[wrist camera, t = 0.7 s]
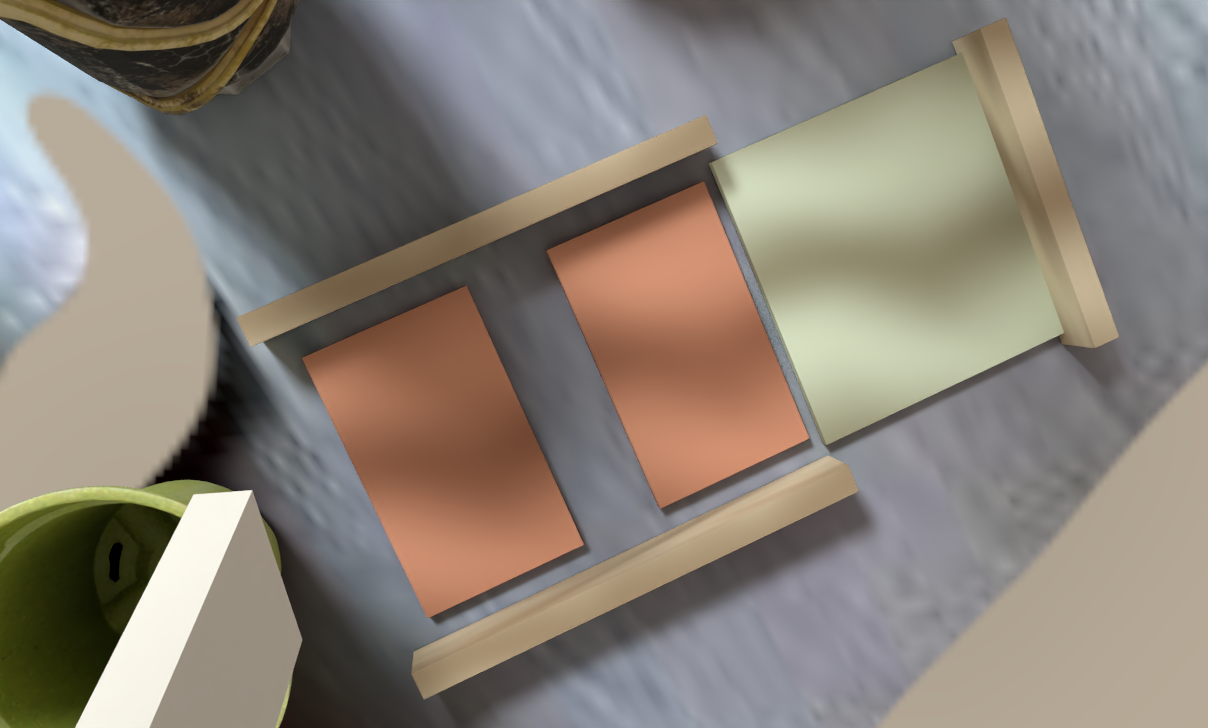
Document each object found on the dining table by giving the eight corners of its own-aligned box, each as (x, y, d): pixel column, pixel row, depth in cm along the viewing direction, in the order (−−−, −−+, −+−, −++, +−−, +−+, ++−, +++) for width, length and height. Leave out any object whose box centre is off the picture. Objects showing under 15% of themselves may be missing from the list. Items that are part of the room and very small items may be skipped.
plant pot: (321, 706, 35) (278, 845, 27) (33, 697, 34) (-109, 841, 25) (342, 443, 35) (304, 500, 26) (48, 422, 33) (-92, 475, 25)
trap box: (249, 315, 34) (236, 317, 32) (966, 4, 36) (995, -11, 34) (425, 675, 36) (424, 699, 34) (1093, 357, 38) (1128, 362, 36)
